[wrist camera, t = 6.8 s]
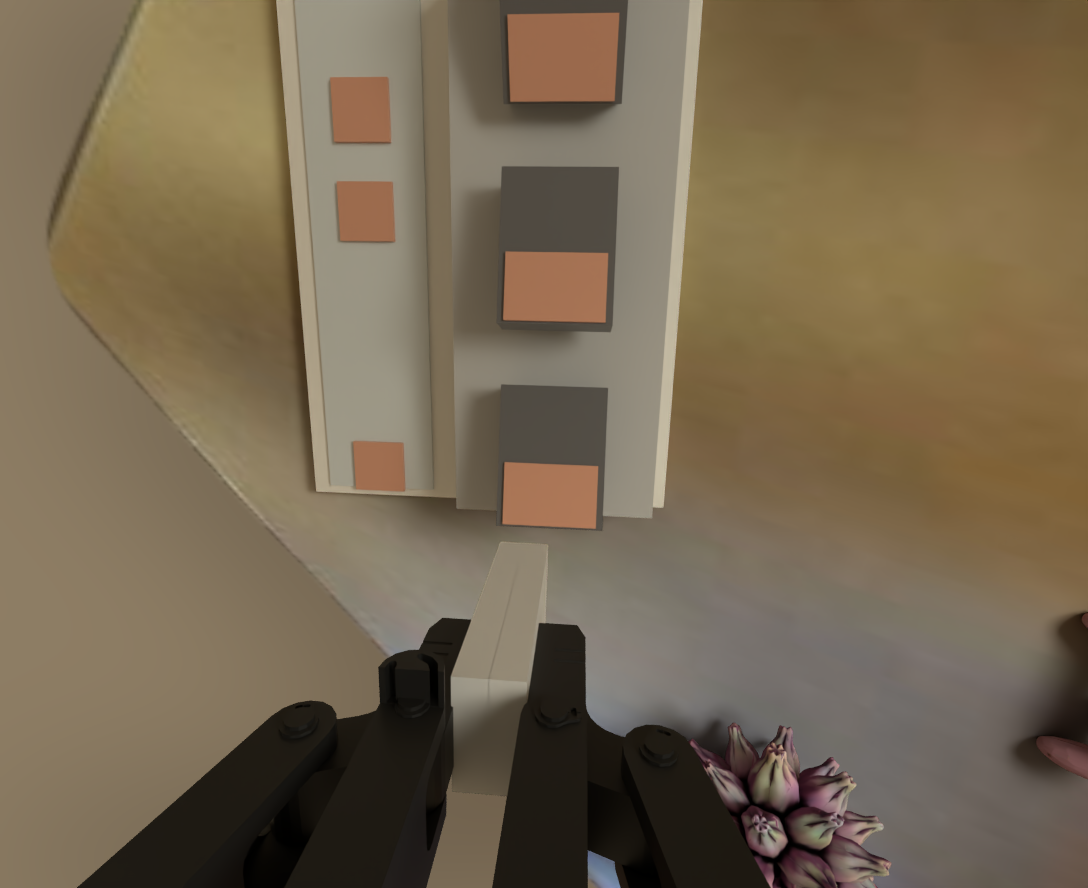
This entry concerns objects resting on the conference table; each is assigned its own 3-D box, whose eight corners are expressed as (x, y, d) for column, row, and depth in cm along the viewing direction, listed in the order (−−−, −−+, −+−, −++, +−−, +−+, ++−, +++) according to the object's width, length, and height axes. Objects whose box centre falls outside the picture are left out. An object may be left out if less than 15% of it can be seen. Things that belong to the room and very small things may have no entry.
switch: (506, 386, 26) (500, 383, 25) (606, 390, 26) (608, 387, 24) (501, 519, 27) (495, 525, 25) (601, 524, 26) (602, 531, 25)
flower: (606, 764, 36) (616, 977, 25) (731, 641, 34) (806, 815, 22) (740, 859, 37) (809, 1105, 26) (872, 746, 35) (1015, 966, 23)
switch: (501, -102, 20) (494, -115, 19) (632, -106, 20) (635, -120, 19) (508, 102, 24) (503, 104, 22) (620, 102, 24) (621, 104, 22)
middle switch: (506, 183, 24) (501, 164, 23) (616, 183, 24) (619, 165, 22) (501, 329, 25) (495, 322, 23) (610, 332, 24) (612, 325, 22)
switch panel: (284, -23, 27) (233, -78, 23) (701, -31, 26) (722, -91, 22) (324, 486, 33) (289, 509, 29) (660, 501, 32) (671, 528, 28)
